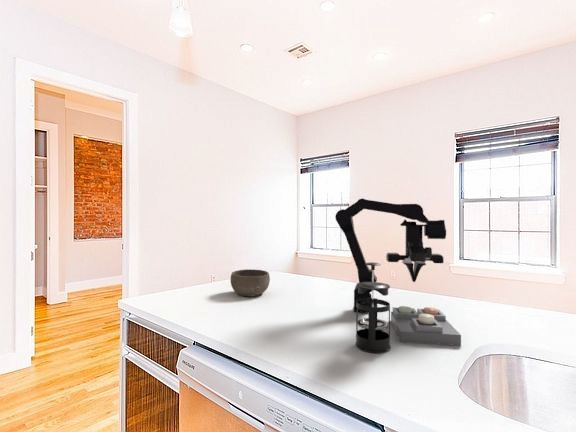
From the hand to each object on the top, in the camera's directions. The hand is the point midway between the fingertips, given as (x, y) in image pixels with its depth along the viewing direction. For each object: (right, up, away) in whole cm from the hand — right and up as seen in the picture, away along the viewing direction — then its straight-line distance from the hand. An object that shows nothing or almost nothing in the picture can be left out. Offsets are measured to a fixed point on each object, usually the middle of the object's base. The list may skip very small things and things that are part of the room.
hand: (413, 281), depth 118 cm
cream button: (-5, -7, -22) cm, 24 cm away
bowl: (-63, -12, +30) cm, 71 cm away
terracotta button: (+1, -8, -12) cm, 14 cm away
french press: (-22, -12, -28) cm, 37 cm away
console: (-4, -12, -17) cm, 21 cm away
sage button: (-7, -8, -10) cm, 15 cm away
